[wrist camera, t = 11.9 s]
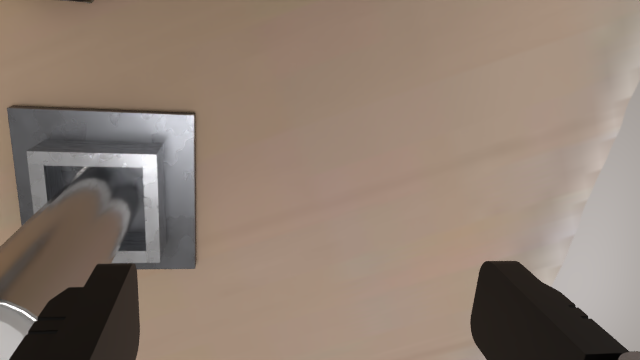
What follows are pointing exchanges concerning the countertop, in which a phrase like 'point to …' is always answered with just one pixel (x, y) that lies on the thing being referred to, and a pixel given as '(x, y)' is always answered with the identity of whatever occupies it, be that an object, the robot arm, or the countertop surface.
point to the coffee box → (87, 0)
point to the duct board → (115, 151)
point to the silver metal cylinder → (63, 245)
